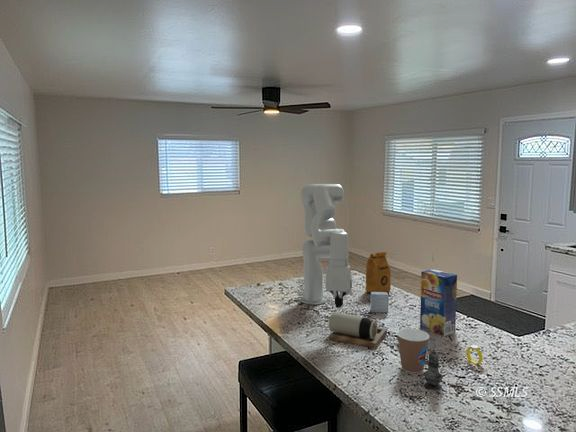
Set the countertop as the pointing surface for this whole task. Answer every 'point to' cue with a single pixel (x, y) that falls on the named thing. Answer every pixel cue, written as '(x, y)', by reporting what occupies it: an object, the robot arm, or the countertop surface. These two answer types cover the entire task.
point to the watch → (478, 354)
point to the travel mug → (353, 325)
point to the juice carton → (438, 301)
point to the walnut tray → (360, 339)
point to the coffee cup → (413, 349)
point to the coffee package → (377, 273)
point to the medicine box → (379, 302)
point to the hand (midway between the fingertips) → (338, 306)
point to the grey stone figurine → (433, 373)
